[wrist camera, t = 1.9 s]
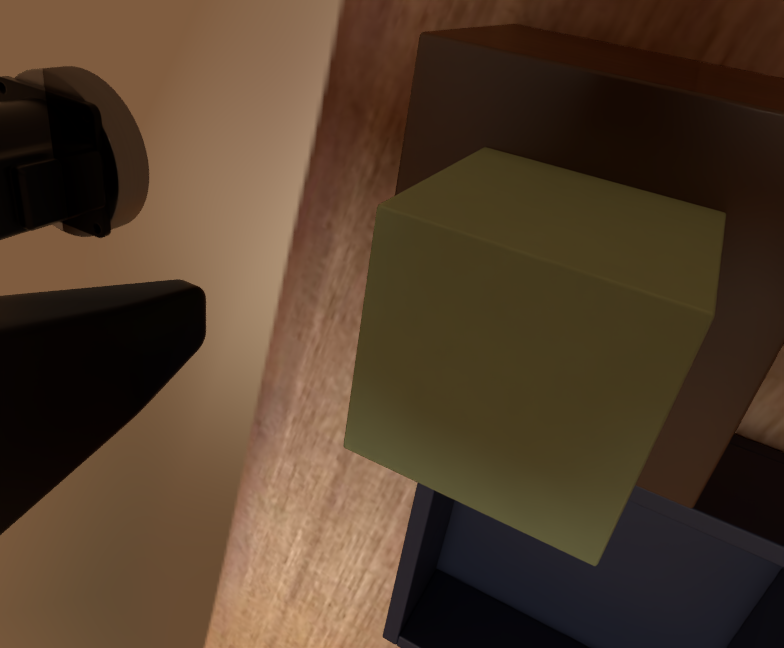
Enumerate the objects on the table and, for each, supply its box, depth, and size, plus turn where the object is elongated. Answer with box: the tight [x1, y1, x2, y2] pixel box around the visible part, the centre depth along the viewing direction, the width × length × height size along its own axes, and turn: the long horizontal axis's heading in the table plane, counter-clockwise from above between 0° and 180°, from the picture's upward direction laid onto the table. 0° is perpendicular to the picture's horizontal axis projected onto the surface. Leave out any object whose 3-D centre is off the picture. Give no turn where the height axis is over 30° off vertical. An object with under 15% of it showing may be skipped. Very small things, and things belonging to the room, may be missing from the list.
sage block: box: [344, 147, 726, 566], centre depth 11 cm, size 4×4×4 cm
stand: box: [395, 24, 784, 508], centre depth 15 cm, size 8×8×6 cm
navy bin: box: [383, 434, 784, 648], centre depth 21 cm, size 11×11×4 cm
